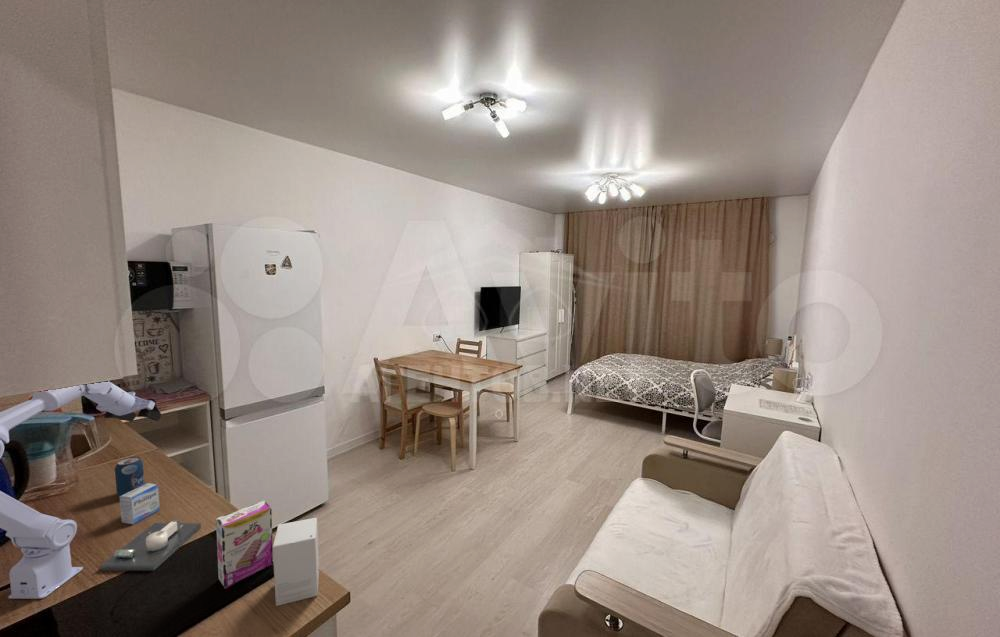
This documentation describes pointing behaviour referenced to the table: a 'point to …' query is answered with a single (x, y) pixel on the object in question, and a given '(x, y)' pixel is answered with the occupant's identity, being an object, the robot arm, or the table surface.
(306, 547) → the supplement box
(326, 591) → the table surface
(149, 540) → the white long bulbous piece
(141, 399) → the robot arm
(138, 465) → the soda can
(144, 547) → the base plate
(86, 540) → the table surface
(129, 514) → the medicine box
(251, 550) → the candy bar box
